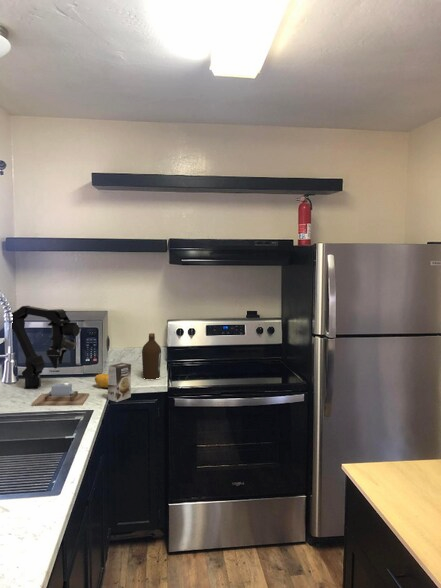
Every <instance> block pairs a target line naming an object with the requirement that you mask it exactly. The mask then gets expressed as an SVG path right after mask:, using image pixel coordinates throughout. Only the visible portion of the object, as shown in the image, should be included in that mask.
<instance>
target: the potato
mask: <svg viewBox="0 0 441 588" xmlns="http://www.w3.org/2000/svg"><path fill="white" fill-rule="evenodd" d="M94 382H95V384H96V385H97V386H98V387H100V388H105V389H108V373H98V374H97V375H95V377H94Z"/></svg>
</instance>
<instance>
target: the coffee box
mask: <svg viewBox="0 0 441 588" xmlns="http://www.w3.org/2000/svg"><path fill="white" fill-rule="evenodd" d="M107 372H108V373H107V374H108V388H107V400H108V401H113V402H116V403H118V402H120V401H123V400H124V401H125V400H127V399H129V398H131V396H132V391H131V390H132V364H131V363H127V362H126V363H124V362H120V363H116V364H110V365H108V371H107Z"/></svg>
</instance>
